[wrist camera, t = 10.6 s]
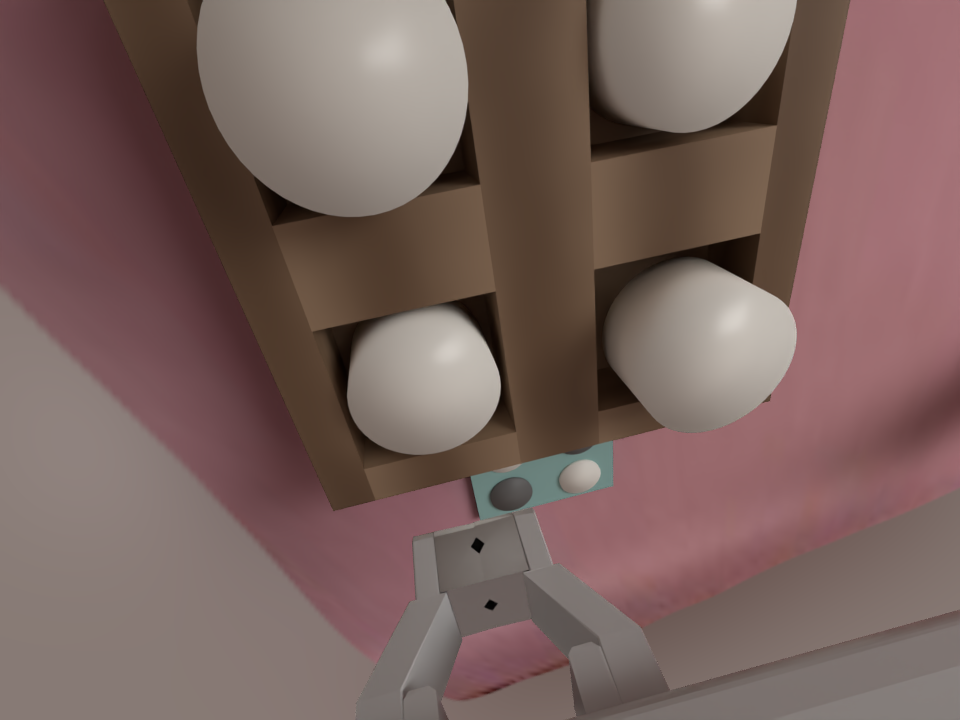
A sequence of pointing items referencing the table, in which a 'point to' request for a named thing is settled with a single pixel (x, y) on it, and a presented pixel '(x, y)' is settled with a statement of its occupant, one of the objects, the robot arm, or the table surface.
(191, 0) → the wooden compartment tray
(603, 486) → the card
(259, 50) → the button
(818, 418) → the table surface
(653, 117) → the button
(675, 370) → the button
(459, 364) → the button
